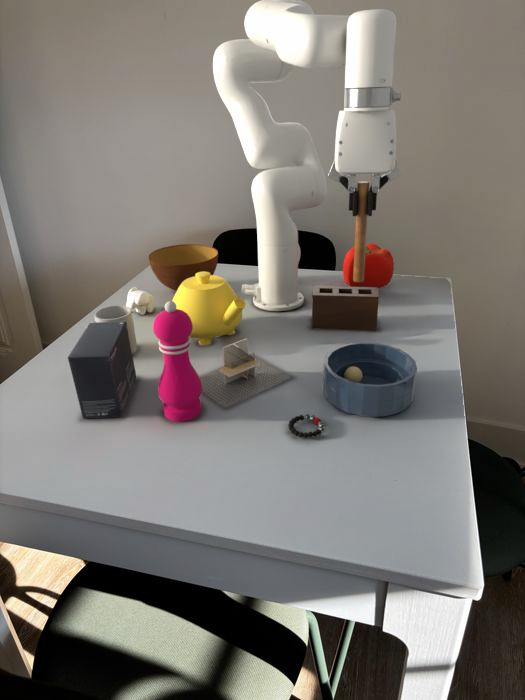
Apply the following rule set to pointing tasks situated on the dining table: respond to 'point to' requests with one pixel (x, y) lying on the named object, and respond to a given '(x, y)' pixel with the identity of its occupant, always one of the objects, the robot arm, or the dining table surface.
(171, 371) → the pepper mill
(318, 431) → the bracelet
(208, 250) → the bowl
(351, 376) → the dough ball
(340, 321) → the rack
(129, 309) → the cup
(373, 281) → the red bell pepper
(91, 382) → the small box
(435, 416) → the dining table surface
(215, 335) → the teapot
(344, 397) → the mixing bowl
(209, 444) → the dining table surface
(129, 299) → the elephant figurine
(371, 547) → the dining table surface
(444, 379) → the dining table surface
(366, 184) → the stick
